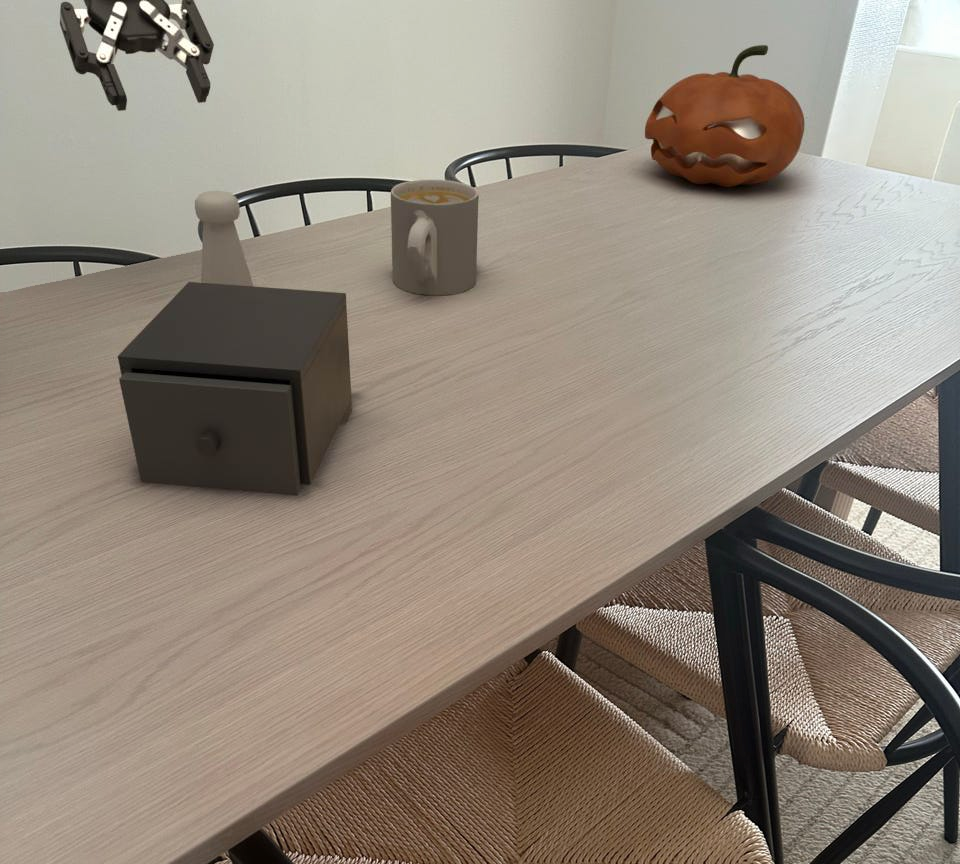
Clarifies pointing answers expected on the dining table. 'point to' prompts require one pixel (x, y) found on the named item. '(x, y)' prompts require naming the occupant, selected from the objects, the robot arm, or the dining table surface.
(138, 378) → the dark grey drawer
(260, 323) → the dark grey drawer box
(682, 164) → the pumpkin
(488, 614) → the dining table surface
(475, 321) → the dining table surface
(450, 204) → the coffee mug
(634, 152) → the dining table surface
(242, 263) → the salt shaker
